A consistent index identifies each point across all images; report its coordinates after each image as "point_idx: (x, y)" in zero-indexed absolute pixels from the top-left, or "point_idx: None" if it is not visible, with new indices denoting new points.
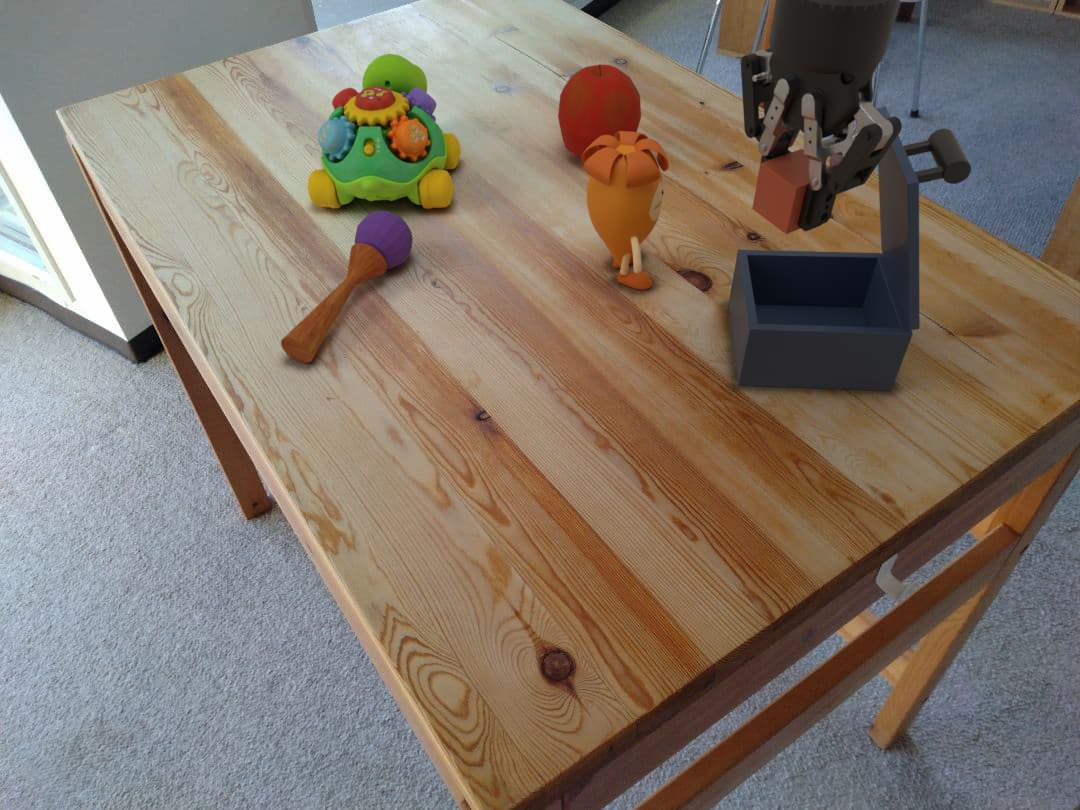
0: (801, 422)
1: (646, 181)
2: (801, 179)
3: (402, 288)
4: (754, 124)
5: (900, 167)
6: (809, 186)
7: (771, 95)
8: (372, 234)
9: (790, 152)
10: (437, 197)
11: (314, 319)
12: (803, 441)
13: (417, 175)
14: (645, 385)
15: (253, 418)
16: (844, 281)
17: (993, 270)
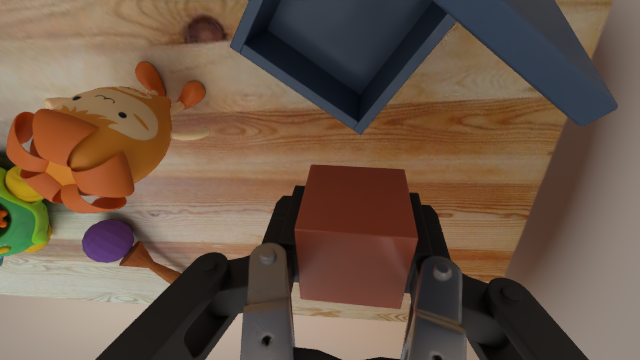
0: (432, 86)
1: (128, 169)
2: (385, 291)
3: (154, 230)
4: (227, 327)
5: (512, 67)
6: (409, 292)
7: (176, 350)
8: (112, 260)
9: (292, 245)
10: None
11: None
12: (449, 101)
13: (23, 207)
14: (318, 162)
15: None
16: None
17: None
